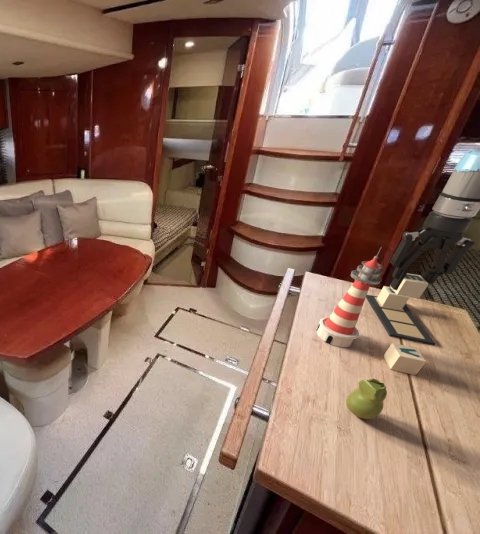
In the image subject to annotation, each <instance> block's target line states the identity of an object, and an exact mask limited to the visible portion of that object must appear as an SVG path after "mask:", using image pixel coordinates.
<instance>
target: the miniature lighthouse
mask: <svg viewBox="0 0 480 534" xmlns="http://www.w3.org/2000/svg"><path fill="white" fill-rule="evenodd" d="M382 247H383V246H381V247H380V248H379V251H378V252H377V254H376V255H375V256H373V258H372V259H371V260H363V261H361V264H359V265H358V266H357V267H356V269H354V270H352V271H351V273H350V277H351V278H352V279H353V280H354V282H353V283H352V284H351V285H350V287H349V289H348V290H347V292H346V293H345V294H344V296H343V297H342V298H341V300H340V301H339V302H338V304H337V305H336V307H335V308H334V310H333V311H332V312H331V314H330V315H329V316H325V317H322V318H320V319H319V322H318V323H319V324H318V325H317V327H316V334H317V336H318V337H319V338H320V339H321V340H322V341H324V342H325V343H326V344H328V345H331V346H335V347H338V348H348V347H351V346H352V345H353V343H354V341H355V340H356V339H357V338H359V336H360V332H359V330H358V328H357V327H356V325H357V323H358V320H359V317H360V315H361V312H362V309H363V306H364V304H365V300H366V299H367V298H366V295H368V293H369V289H370V287H371V285H373V286H374V285H375V286H376V285H380V283H381V282H382V280H383V279H382V277H381V275H382V274H383V272H382V271H381V270H382V269H383V268H384V267H383V265H382V264H380V263H379V262H378V259H379V256H378V255H379V254H380V251H381V250H382Z"/></svg>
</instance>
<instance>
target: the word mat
mask: <svg viewBox="0 0 480 534" xmlns="http://www.w3.org/2000/svg"><path fill="white" fill-rule="evenodd" d="M377 297H378V295H371V294H367V295H366V298H365V299H366V300H367V302H368V304H369V305H370V307H371V308H372V310H373V311H374V313H375V315H376V316H377V318H378V320H379V321H380V323H381V325H382V327H383V328H384V329H385V331H386V333H387V335H388V336H389V337H390V338H391V337H392V338H396V339H401V340H406V341H410V342H415V343H420V344H426V345H429V346H436V344H437V343H436V342H435V340H434V339H433V338H432V337H431V335H430V334H429V333H428V331H427V330H426V329H425V327H424V326H423V325H422V323H421V322H420V321H419V319H418V318H417V317H416V316H415V315H414V313H413V312H412V311H411V309H410V308H409V306H407V303H406V304H405V305H404V307H403V308H402V310H400V309H395V308H390V307H384V306H382V305H381V304H380V302H379V300H378V299H377Z"/></svg>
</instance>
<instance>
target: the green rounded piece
mask: <svg viewBox="0 0 480 534" xmlns="http://www.w3.org/2000/svg"><path fill="white" fill-rule="evenodd" d="M357 383H358V388H356V389H354V390H353V391H351V392H350V393H349V394H348V395H347V397H346V400H345V404H346V407H347V409H348V410H349V412H351V413H352V414H353V415H354V416H356V417H358V418H360V419H365V420H369V419H374V418H376V417H378V416H379V415H380V414H381V413H382V411H383V409H384V401H385V399H386V398H387V393H388V391H387V386H386V385H385V383H384V382H381V381H380V380H378V379H377V378H370V379H361V380H358V382H357Z"/></svg>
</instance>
